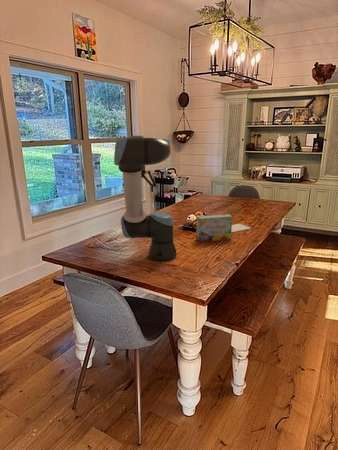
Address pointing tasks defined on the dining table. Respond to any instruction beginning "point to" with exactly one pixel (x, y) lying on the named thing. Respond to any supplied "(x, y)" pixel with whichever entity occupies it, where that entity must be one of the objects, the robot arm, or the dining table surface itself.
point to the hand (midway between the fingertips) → (139, 197)
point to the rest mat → (239, 227)
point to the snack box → (214, 227)
